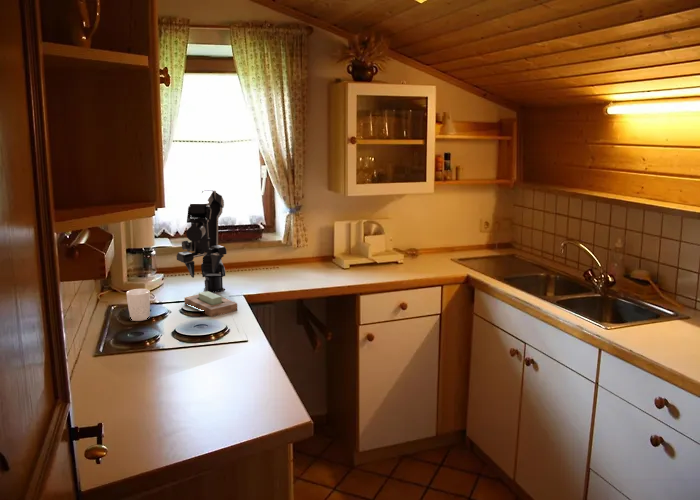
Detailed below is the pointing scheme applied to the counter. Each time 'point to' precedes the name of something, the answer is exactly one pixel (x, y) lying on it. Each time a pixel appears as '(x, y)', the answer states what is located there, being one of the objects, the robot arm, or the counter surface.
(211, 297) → the peg
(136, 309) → the white cup
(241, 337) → the counter surface
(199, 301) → the brown wooden flat block
